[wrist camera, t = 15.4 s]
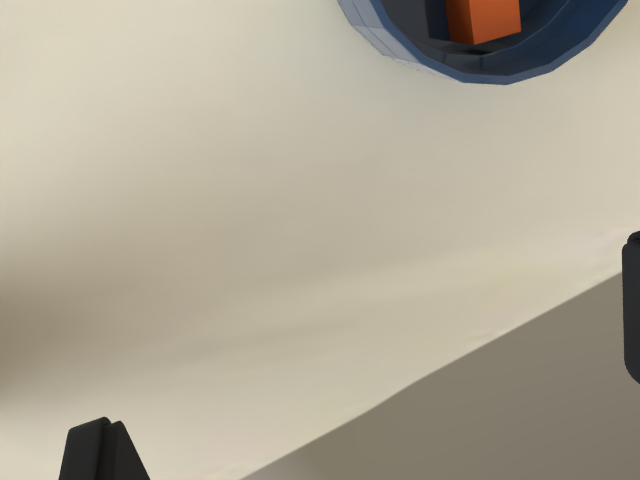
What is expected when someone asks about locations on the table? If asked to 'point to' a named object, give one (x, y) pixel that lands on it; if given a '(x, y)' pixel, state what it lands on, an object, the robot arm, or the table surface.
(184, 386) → the table surface
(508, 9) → the screwdriver
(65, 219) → the table surface
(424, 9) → the navy round tub
